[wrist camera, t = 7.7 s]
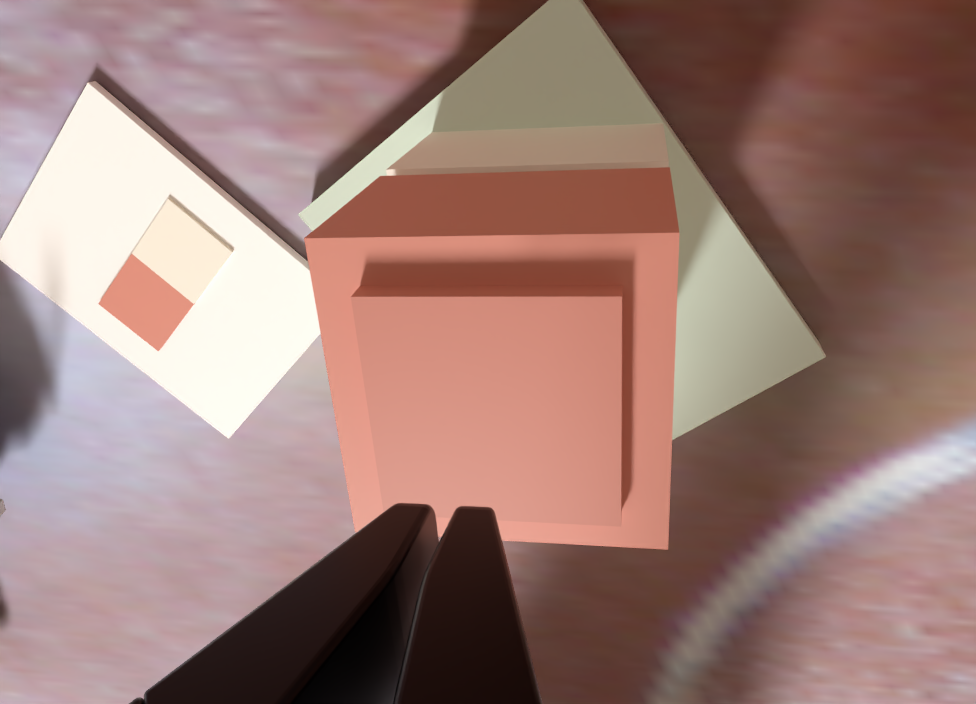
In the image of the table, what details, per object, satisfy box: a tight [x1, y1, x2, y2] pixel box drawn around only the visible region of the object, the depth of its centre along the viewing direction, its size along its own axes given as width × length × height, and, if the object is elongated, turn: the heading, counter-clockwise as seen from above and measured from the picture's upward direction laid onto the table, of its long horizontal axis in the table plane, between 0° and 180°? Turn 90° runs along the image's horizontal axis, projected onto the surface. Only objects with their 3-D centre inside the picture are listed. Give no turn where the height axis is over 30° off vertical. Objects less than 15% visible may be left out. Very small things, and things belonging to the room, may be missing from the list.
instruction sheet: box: [0, 81, 320, 439], centre depth 21 cm, size 8×6×1 cm
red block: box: [304, 167, 679, 550], centre depth 13 cm, size 5×5×4 cm
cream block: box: [386, 123, 669, 176], centre depth 16 cm, size 5×5×4 cm
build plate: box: [298, 0, 826, 440], centre depth 19 cm, size 10×8×1 cm
